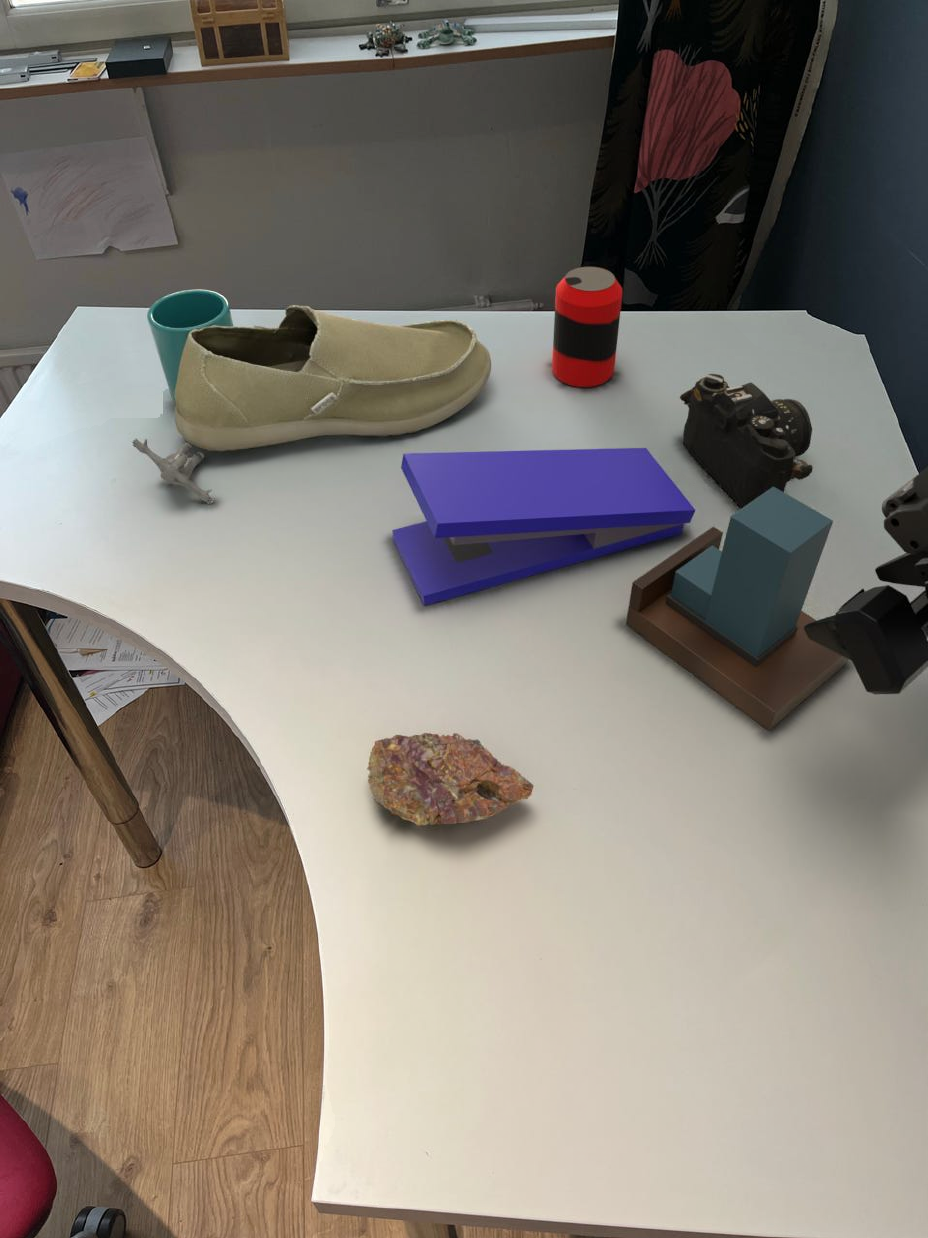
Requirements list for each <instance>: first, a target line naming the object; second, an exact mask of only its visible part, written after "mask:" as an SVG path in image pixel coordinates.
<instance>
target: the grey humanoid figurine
mask: <svg viewBox="0 0 928 1238" xmlns="http://www.w3.org/2000/svg"><path fill="white" fill-rule="evenodd" d="M131 443H132V446H133V447H134V448H135V449H136V450H137V451H138V452H140V453H142V454H145V455H146V456H148V457H149V459H150V460H151V461H152V462H153V463H154V464H155V465H156V466H157V468H158V470H159V472H160V478H161V479H162V480H163V481H164V482H165V483H167V484H175V485H179V486H182V487H184V488H186V489H187V490H189V491H191V492H193V493H195V494H196V495H197V497H198V498H199V499H200V500H201V501H203V502H204V503H207V504H208V505H210V504H213V503H214V500H215V498H214V497H212V496H211V495H210V494H209V493H211V492H212V489H208V490H204V489H201V488H200V487H199V486H198V485H197V484H195V482H194V481H193V480H192V479H190V477H191V475H192V473H193V470H194V468H195V467H196V466H197V465H199V464H200V463H201V462H202V461H203V460H204V457H205V455H204V453H203V452H202V451H198V452H195V453H194V454H193V455H192V457H188V456H187V455H188V454H189V453H190V452H191V450H192V444H191V443H190V442H188V441H186V442H184V443H183V444H181V446H180V448H179V449H178V450H177V451H175V452H174V453H171V454H169V455H167V456H166V457H161V456H160V455H158V454H156V453H155V452H154V451H152V449H150V448H149V446H148V438H145V439H144V442H141V441H140V440H138V438H135V439H133V440H132V442H131Z"/></svg>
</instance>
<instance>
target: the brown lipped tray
mask: <svg viewBox="0 0 928 1238" xmlns="http://www.w3.org/2000/svg"><path fill="white" fill-rule="evenodd" d="M723 535H724V532H723V531H721V530H720V529H719V528H717V527H715V526H712V527H710V528H709V529H707V530H706V531H704V532H703V533H702V534H699V536H697V537H696V538H694V539H693V540H692V541H690V542H688V543H687V544H686V545H684V546H683V547H681V548H680V549H678V550H677V551H676V552H674V553H673V554H671V555H670V556H668V557H667V558H665V559H664V560H662V561H661V562H660V563H658V564H656V565H655V566H654V567H652V568H651V569H649V570H648V571H647V572H645V573H644V574H642V575H640V576H639V577H638V578H637V579H634V581H632V583H631V590H630V595H629V596H630V597H629V601H628V607H627V608H628V609H627V614H626V621H625V625H626V626H627V627H629V628H630V629H631V630H633V631H634V632H636V633H637V634H638V635H639V636H641V637H642V638H644V639H645V640H646V641H647V642H649V643H650V644H651V645H653V646H655V648H657V649H658V650H660V652H662V653H664V654H665V655H666V656H668V657H669V658H670V659H671V660H673V661H674V662H676V663H677V664H679V666H681V667H683V668H684V669H685V670H686V671H688V672H689V673H690V674H692V675H693V676H694V677H696V678H697V679H699V680H700V681H701V682H702V683H704V684H705V685H707V686H708V687H709V688H711V689H712V690H714V692H716V693H717V694H719V695H720V696H721V697H723V698H724V699H726V700H727V701H728V702H729V703H731V704H732V705H733V706H735V707H736V708H738V709H739V710H740V711H742V712H743V713H744V714H746V715H747V716H748V717H749V718H751V719H752V720H753V721H755V722H757V724H759V725H760V726H762V727H763V728H764V729H765V730H767V731H770V730H772V729H773V728H774V727H775V726H776V725H777V724H778V723H780V722H782V720H783V719H784V718H785V717H786V716H787V715H789V714H790V713H791V712H792V711H793V710H795V709H796V708H797V707H798V706H799V705H800V704H801V703H803V702H804V701H805V700H806V699H807V698H808V697H809V696H811V695H812V694H813V693H814V692H815V691H817V690H818V689H819V688H820V687H821V686H822V685H823V684H825V682H827V681H828V680H829V679H830V678H831V677H833V676H834V675H835V674H836V673H837V672H839V670H841V668H843V667H844V666H845V665H846V664H847V662H848V660H849V659H847V658H845V657H843V656H841V655H839V654H838V653H836V652H834V651H832V650H830V649H828V648H826V647H824V646H822V645H820V644H818V643H816V642H814V641H812V640H810V639H809V638H808V636H807V634H806V632H805V630H804V626H806V625H807V624H809V623H812V622H814V621H817V620H818V619H815V618H814V617H812V616H810V615H809V614H807V613H806V612H805V611H804V610H801V613H800V616H799V619H798V621H797V624H796V626H798V629H797V632H796V635H794V636H793V637H792V638H791V639H789V640H788V641H787V642H786V643H785V644H783V645H782V646H781V647H780V648H778V649H777V650H776V651H775V652H774V653H772V654H771V655H770V656H769V657H768V658H766V659H765V660H764V661H763V662H761V663H760V664H759V665H758V666H757V667H755V666H754V665H752V664H751V663H749V662H748V661H747V660H745V659H744V658H742V657H741V656H739V655H738V654H737V653H735V652H734V651H732V650H731V649H729V648H728V647H727V646H725V645H724V644H722V643H721V642H720V641H718V640H717V639H715V638H714V637H712V636H711V635H710V634H708V633H707V632H705V631H704V630H702V629H701V628H700V627H698V626H697V625H695V624H694V623H693V622H691V621H690V620H688V619H687V618H685V617H684V616H683V615H681V614H680V613H678V612H677V611H675V610H674V609H673V608H671V607H670V606H668V605H667V604H666V598H667V596H668V595H669V594H670V593H671V592H672V587H673V582H674V577H675V572H676V571H677V570H679V569H680V568H681V567H683V566H684V565H686V564H687V563H688V562H690V561H691V560H693V559H694V558H696V557H697V556H698V555H700V554H701V553H703V552H704V551H705V550H707V549H708V548H710V547H711V546H714V547H716V548H717V549H719V550H720V547H721V544H722V540H723Z"/></svg>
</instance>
